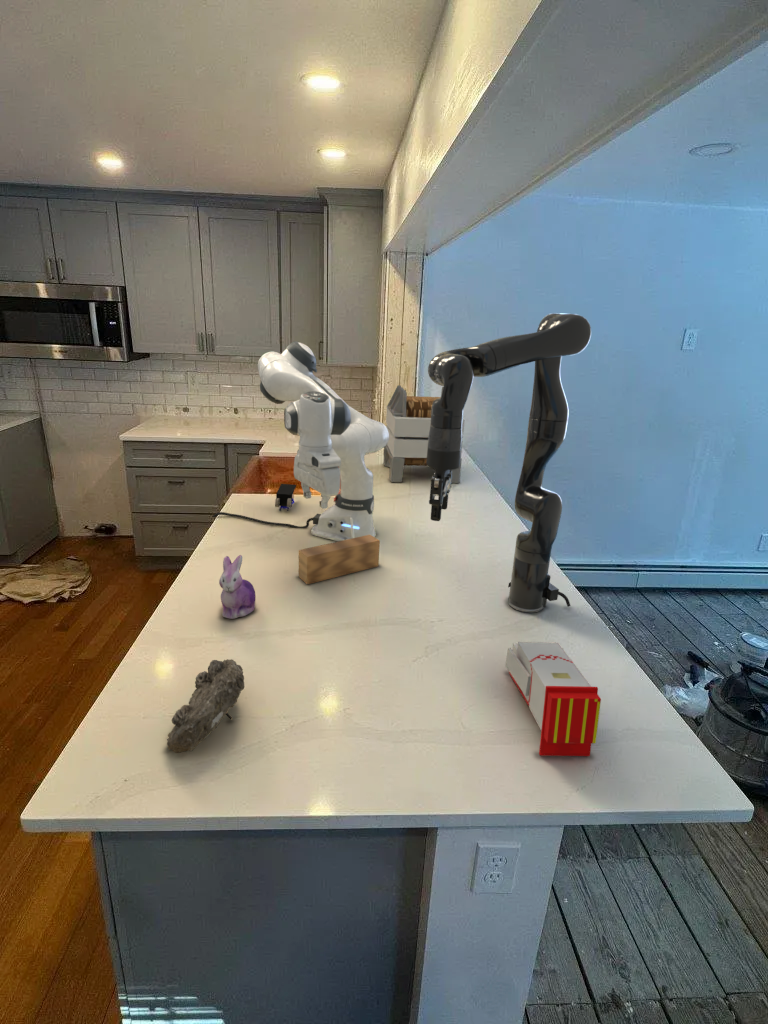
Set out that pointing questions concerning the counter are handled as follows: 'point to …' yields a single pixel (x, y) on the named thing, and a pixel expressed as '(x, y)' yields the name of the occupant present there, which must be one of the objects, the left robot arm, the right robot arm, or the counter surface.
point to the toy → (556, 697)
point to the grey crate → (409, 433)
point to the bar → (338, 558)
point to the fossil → (206, 705)
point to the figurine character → (285, 496)
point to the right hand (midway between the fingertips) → (439, 514)
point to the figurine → (235, 590)
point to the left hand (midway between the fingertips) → (315, 502)
